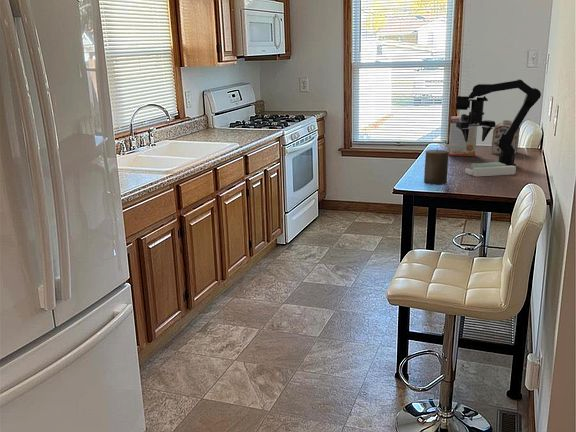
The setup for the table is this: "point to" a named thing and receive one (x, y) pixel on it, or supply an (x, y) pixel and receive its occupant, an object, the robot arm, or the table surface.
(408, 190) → the table surface
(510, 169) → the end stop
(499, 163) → the bar
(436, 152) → the pillar candle
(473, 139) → the cracker box
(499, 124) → the decorative jar
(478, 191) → the table surface
